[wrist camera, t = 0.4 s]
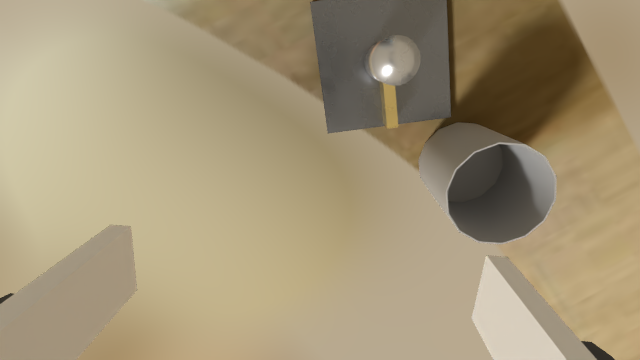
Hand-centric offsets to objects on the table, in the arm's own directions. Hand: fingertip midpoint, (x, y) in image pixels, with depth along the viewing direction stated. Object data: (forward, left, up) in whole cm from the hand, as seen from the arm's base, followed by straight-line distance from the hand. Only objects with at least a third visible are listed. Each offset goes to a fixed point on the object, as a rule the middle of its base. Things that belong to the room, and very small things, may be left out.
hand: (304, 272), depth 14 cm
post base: (-7, +6, -25) cm, 27 cm away
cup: (+4, +13, -26) cm, 29 cm away
